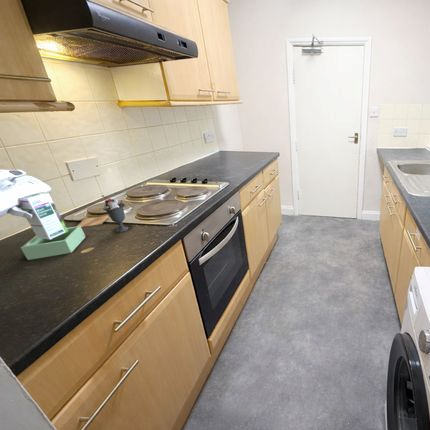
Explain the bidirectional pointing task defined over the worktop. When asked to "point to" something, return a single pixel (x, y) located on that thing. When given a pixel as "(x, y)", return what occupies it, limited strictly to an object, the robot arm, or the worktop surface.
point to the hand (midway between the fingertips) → (43, 211)
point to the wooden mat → (92, 221)
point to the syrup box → (43, 215)
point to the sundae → (115, 212)
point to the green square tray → (54, 244)
